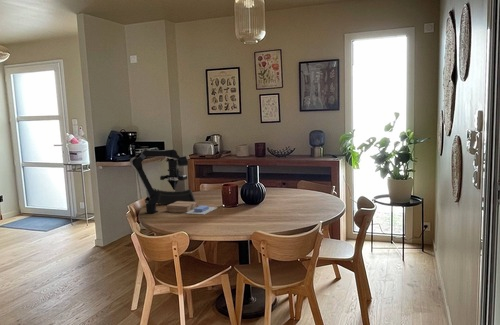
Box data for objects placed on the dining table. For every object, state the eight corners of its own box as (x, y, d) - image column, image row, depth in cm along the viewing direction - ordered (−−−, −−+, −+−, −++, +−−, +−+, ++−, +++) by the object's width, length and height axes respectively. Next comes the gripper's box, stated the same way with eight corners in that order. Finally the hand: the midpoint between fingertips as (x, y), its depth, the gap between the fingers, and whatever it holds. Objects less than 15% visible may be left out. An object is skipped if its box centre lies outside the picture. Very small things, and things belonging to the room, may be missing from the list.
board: (187, 212, 265) (186, 206, 265) (167, 211, 272) (166, 205, 271) (198, 207, 278) (197, 201, 278) (178, 206, 285) (178, 200, 284)
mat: (204, 214, 258) (204, 214, 258) (185, 213, 264) (185, 212, 264) (217, 207, 274) (217, 207, 274) (199, 206, 280) (199, 206, 280)
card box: (194, 208, 266) (194, 211, 266) (201, 209, 263) (202, 212, 263) (200, 205, 274) (201, 208, 274) (208, 205, 271) (208, 208, 272)
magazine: (197, 190, 295) (157, 180, 294) (197, 190, 292) (156, 181, 291) (192, 212, 297) (152, 202, 296) (192, 213, 294) (151, 203, 293)
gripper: (190, 165, 280) (192, 188, 282) (168, 165, 287) (169, 187, 289) (181, 168, 270) (183, 191, 271) (158, 168, 277) (160, 190, 279)
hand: (174, 189), depth 278 cm, fingers closed
